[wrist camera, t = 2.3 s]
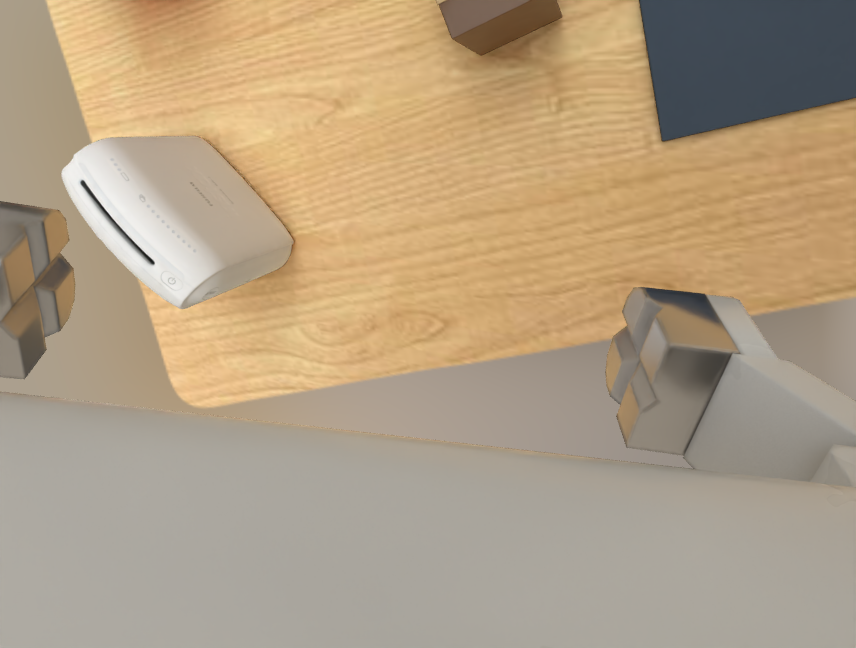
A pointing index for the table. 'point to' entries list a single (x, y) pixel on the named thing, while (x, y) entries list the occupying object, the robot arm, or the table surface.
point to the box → (495, 20)
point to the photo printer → (176, 215)
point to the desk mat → (746, 59)
